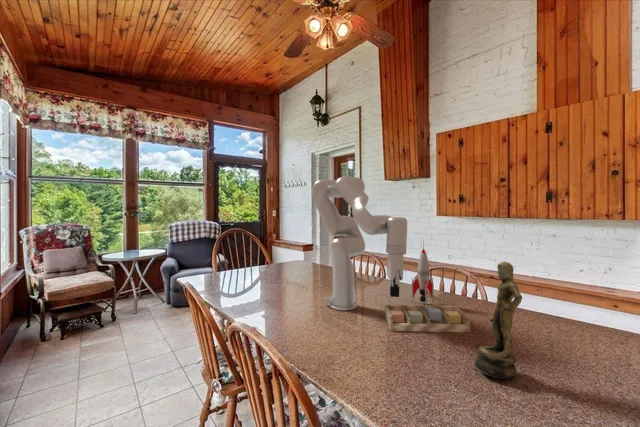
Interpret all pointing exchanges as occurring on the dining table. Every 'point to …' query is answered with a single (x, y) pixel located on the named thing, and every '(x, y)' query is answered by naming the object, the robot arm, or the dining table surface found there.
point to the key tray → (426, 319)
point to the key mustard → (453, 316)
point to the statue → (499, 357)
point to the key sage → (415, 316)
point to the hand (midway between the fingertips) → (394, 296)
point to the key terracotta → (397, 316)
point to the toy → (423, 278)
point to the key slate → (434, 314)
